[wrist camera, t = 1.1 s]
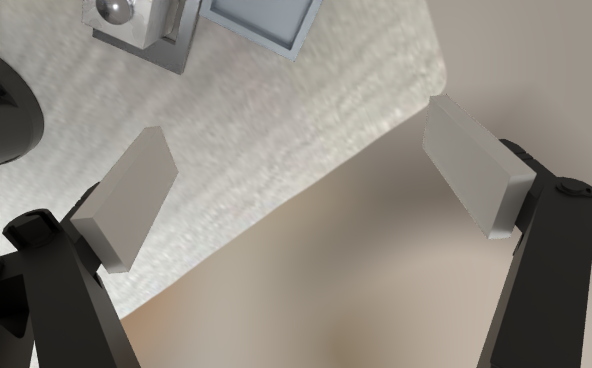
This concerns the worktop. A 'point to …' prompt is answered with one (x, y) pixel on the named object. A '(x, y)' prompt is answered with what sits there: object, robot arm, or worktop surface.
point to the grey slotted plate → (164, 42)
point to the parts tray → (266, 21)
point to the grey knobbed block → (131, 19)
